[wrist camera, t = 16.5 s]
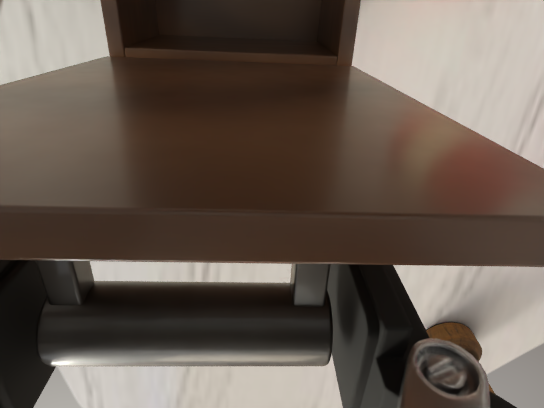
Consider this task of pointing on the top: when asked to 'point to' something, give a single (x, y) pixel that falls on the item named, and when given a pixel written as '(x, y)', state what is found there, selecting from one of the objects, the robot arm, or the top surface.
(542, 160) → the top surface
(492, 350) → the top surface
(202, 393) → the top surface
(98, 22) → the top surface
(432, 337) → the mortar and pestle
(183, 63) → the bread box lid
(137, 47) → the bread box
